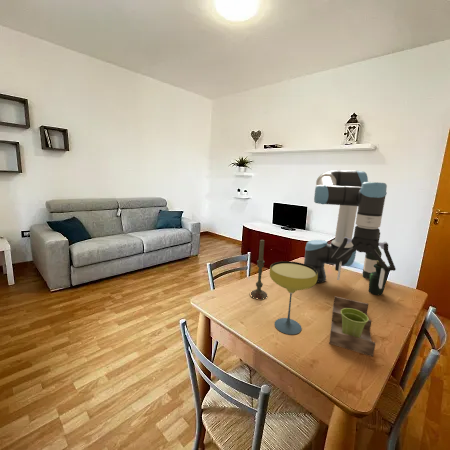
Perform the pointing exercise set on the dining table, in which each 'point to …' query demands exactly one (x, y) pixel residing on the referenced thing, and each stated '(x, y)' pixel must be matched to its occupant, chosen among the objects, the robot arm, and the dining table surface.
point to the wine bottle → (370, 262)
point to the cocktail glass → (292, 288)
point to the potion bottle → (376, 280)
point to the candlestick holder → (258, 292)
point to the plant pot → (353, 321)
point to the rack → (345, 340)
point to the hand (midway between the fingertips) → (358, 282)
